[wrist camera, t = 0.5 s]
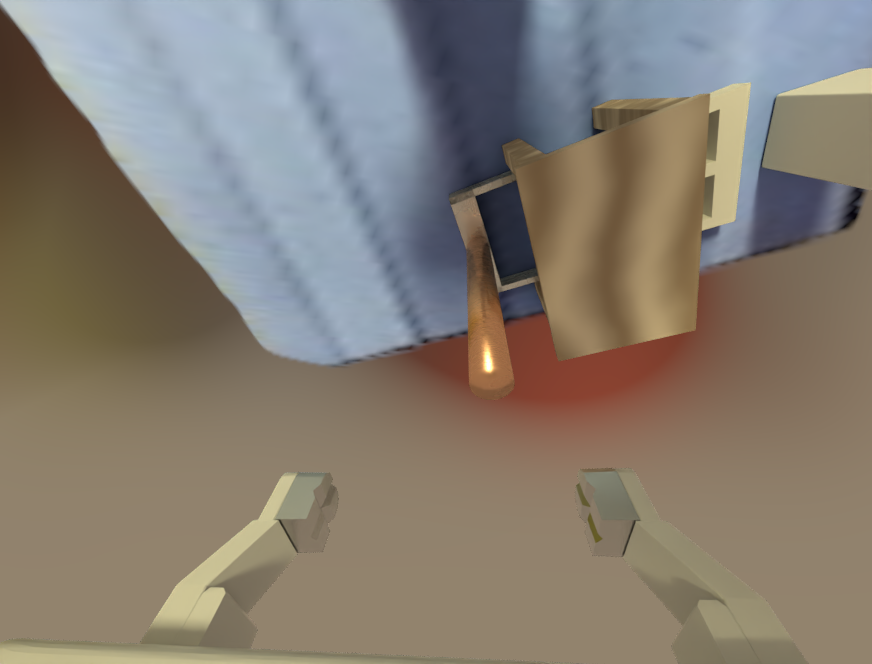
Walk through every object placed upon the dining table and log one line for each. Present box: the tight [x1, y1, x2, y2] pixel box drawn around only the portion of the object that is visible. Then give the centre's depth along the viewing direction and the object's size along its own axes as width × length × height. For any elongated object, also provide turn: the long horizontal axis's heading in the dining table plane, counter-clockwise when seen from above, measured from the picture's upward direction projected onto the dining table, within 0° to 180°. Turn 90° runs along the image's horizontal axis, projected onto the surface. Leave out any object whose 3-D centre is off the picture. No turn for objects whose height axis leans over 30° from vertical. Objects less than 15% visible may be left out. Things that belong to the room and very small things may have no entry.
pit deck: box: [702, 83, 751, 230], centre depth 37 cm, size 10×14×2 cm
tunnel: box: [502, 94, 710, 361], centre depth 35 cm, size 13×20×16 cm, turn 21°
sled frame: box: [449, 170, 539, 400], centre depth 31 cm, size 20×14×28 cm
